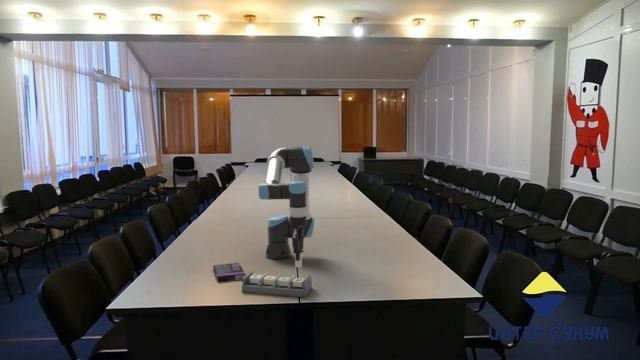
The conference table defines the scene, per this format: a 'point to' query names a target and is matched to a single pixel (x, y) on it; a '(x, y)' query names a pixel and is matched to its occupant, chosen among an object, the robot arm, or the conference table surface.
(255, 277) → the key
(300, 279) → the key
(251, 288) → the keypad
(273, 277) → the key
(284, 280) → the key
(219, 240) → the conference table surface
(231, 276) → the box
